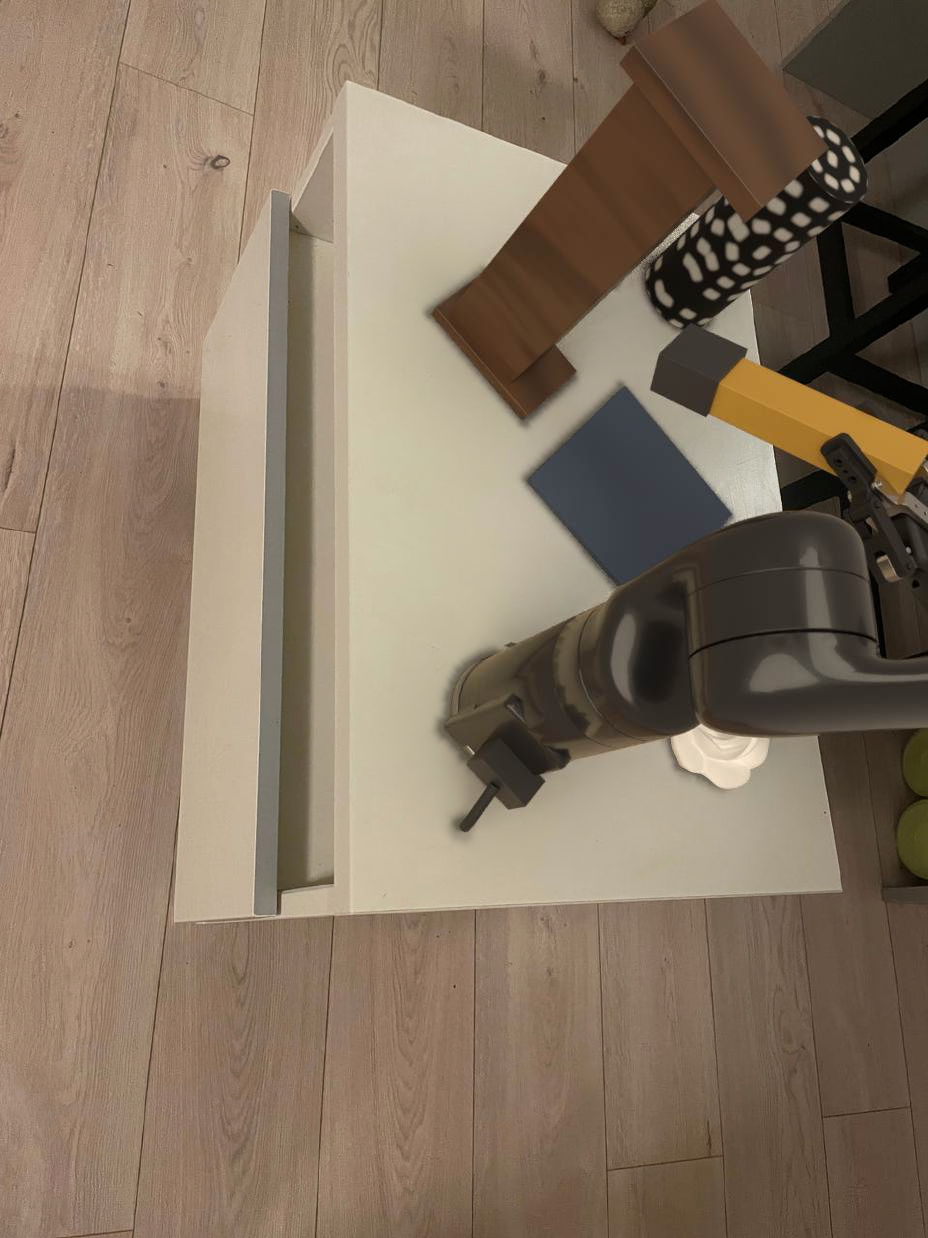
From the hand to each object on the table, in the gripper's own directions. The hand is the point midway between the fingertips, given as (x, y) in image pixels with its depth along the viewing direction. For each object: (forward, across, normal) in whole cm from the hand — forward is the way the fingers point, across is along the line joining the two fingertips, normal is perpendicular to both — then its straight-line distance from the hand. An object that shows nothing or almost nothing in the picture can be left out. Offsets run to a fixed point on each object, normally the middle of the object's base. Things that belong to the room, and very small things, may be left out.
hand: (844, 424), depth 66 cm
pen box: (+2, 0, +5) cm, 5 cm away
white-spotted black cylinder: (+15, -23, +22) cm, 35 cm away
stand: (+22, 0, +21) cm, 30 cm away
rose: (-15, +11, +22) cm, 29 cm away
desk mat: (+4, 0, +21) cm, 22 cm away
